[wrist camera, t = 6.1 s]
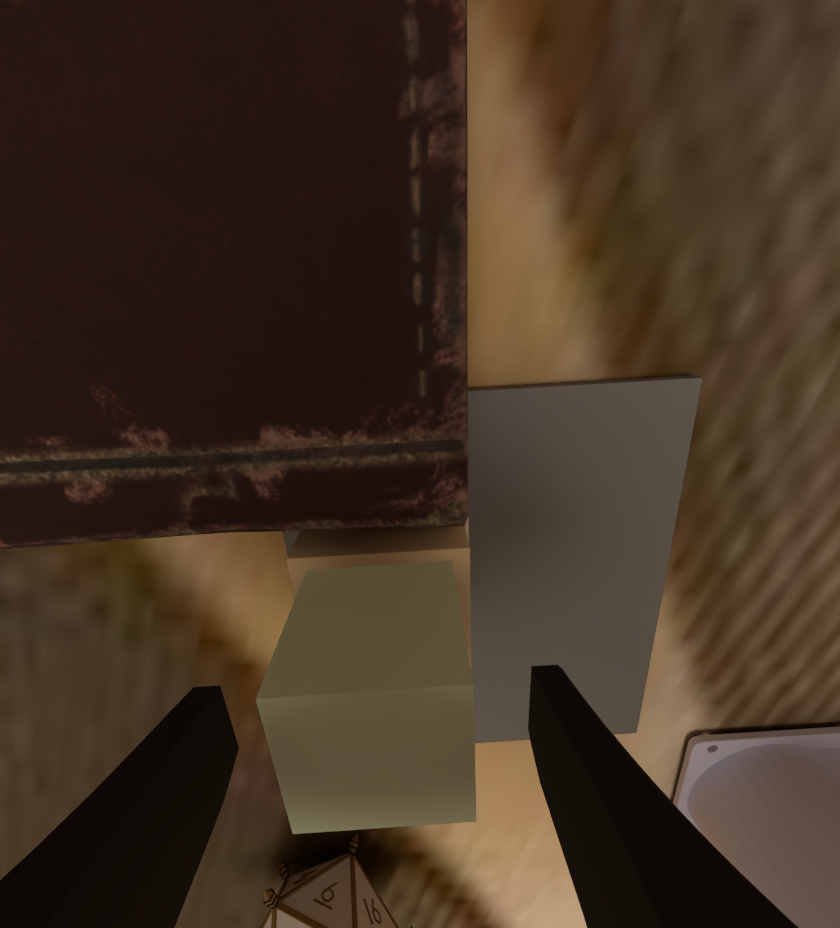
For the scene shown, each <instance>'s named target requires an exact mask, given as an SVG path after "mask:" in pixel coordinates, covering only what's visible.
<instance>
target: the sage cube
mask: <svg viewBox="0 0 840 928" xmlns="http://www.w3.org/2000/svg"><path fill="white" fill-rule="evenodd" d="M256 702H257V706H258V709H259V713H260V717H261V720H262V724H263V728H264V731H265V735H266V739H267V742H268V746H269V749H270V753H271V757H272V760H273V764H274V768H275V771H276V775H277V779H278V782H279V786H280V790H281V793H282V797H283V800H284V804H285V808H286V811H287V815H288V819H289V822H290V826H291V830H292V833H293V834H303V833H317V832H332V831H346V830H360V829H375V828H389V827H403V826H418V825H432V824H447V823H461V822H475V821H476V788H475V739H474V691H473V679H472V674H471V668H470V662H469V656H468V651H467V645H466V639H465V633H464V628H463V622H462V616H461V611H460V605H459V599H458V593H457V588H456V582H455V576H454V570H453V565H452V560H449V561H434V562H420V563H405V564H390V565H375V566H360V567H345V568H330V569H316V570H307V571H306V573H305V576H304V578H303V581H302V583H301V586H300V588H299V591H298V593H297V596H296V598H295V601H294V604H293V606H292V609H291V611H290V614H289V616H288V619H287V621H286V624H285V626H284V629H283V631H282V634H281V636H280V639H279V641H278V644H277V647H276V649H275V652H274V654H273V657H272V659H271V662H270V664H269V667H268V669H267V672H266V674H265V677H264V679H263V682H262V685H261V687H260V690H259V692H258V695H257V697H256Z"/></svg>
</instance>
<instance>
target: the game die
mask: <svg viewBox="0 0 840 928" xmlns="http://www.w3.org/2000/svg"><path fill="white" fill-rule="evenodd" d="M350 840H351V842H350V844H349V852H348V853H346V854H344V855H341V856H339V857H336V858H334V859H331V860H329V861H326V862H324V863H321V864H319V865H316V866H313V867H311V868H308V869H306V870H303V871H301V872H298V873H296V874H293V875H291V876H290V871H291V870H290V869H289V868H288V867H289V865H285V864H283V863H281V868H280V871H279V872H280V875H281V877H282V879H284V883H283V885H282V887H281V888H280V890H279V892H278V894H277V895H276V894H275V891H274V890H273V889H272V888H271V889H270V890H264V904H267V906H266V907H271V908H270V910H269V912H268V914H267V916H266V918H265V920H264V922H263V924H262V926H261V928H399V927H398V926H397V924H396V922H395V921H394V919H393V917H392V916H391V914H390V912H389V911H388V909H387V907H386V906H385V904H384V903H383V901H382V899H381V898H380V896H379V894H378V893H377V891H376V889H375V888H374V886H373V885H372V883H371V881H370V880H369V878H368V876H367V875H366V873H365V871H364V870H363V868H362V866H361V865H360V863H359V862H358V860H357V858H356V857H355V852H356V850H357V849H358V844H359V843H360V842H359V839H358V832H357V833H356V834H355V836H354V837H353V838H352V839H350ZM411 928H412V926H411Z"/></svg>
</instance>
